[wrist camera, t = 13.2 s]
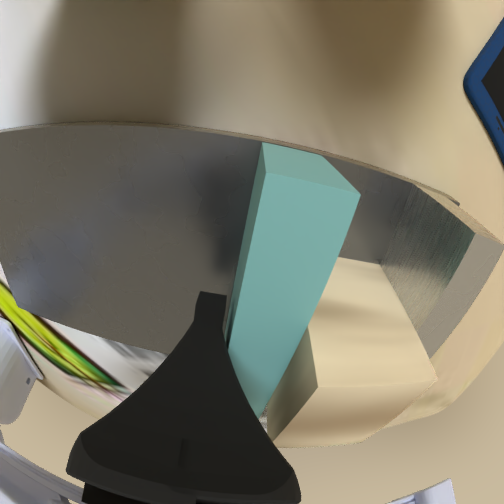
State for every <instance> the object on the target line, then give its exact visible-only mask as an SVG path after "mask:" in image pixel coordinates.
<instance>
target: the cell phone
mask: <svg viewBox="0 0 504 504" xmlns="http://www.w3.org/2000/svg"><path fill="white" fill-rule="evenodd" d="M463 85H464V90H465V92H466V94H467V96H468V98H469V100H470V102H471V104H472V105H473V107H474V108H475V110H476V112H477V114H478V115H479V117H480V119H481V120H482V122H483V124H484V126H485V128H486V130H487V132H488V133H489V135H490V137H491V139H492V141H493V143H494V145H495V147H496V150H497V152H498V154H499V156H500V158H501V161H502V163H503V165H504V18H503V19H502V21H501V22H500V24H499V25H498V27H497V28H496V30H495V31H494V33H493V34H492V36H491V37H490V39H489V40H488V42H487V43H486V45H485V46H484V48H483V49H482V50H481V52H480V53H479V55H478V56H477V58H476V59H475V60H474V62H473V63H472V65H471V66H470V68H469V69H468V71H467V73H466V74H465V77H464V80H463Z"/></svg>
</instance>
